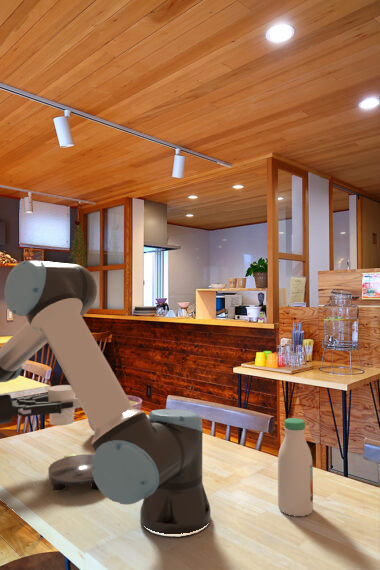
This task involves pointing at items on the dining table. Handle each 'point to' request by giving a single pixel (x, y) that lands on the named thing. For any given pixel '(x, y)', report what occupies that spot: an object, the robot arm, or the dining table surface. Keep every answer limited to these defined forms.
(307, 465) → the milk bottle
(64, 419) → the white cup
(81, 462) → the stand
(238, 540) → the dining table surface
